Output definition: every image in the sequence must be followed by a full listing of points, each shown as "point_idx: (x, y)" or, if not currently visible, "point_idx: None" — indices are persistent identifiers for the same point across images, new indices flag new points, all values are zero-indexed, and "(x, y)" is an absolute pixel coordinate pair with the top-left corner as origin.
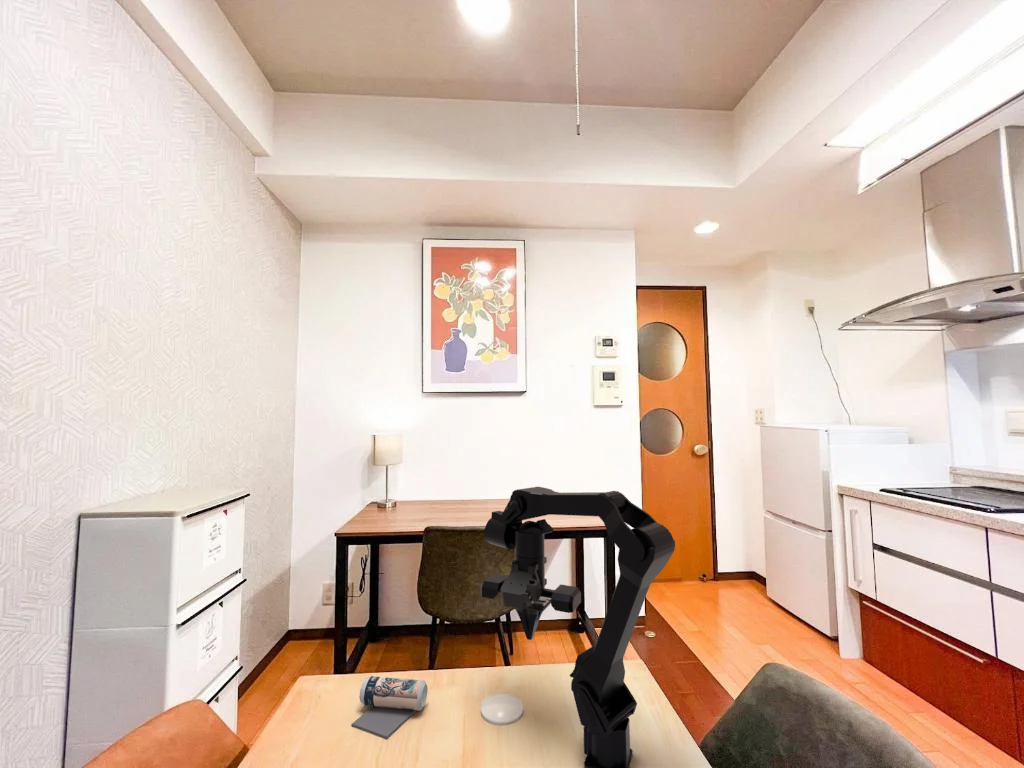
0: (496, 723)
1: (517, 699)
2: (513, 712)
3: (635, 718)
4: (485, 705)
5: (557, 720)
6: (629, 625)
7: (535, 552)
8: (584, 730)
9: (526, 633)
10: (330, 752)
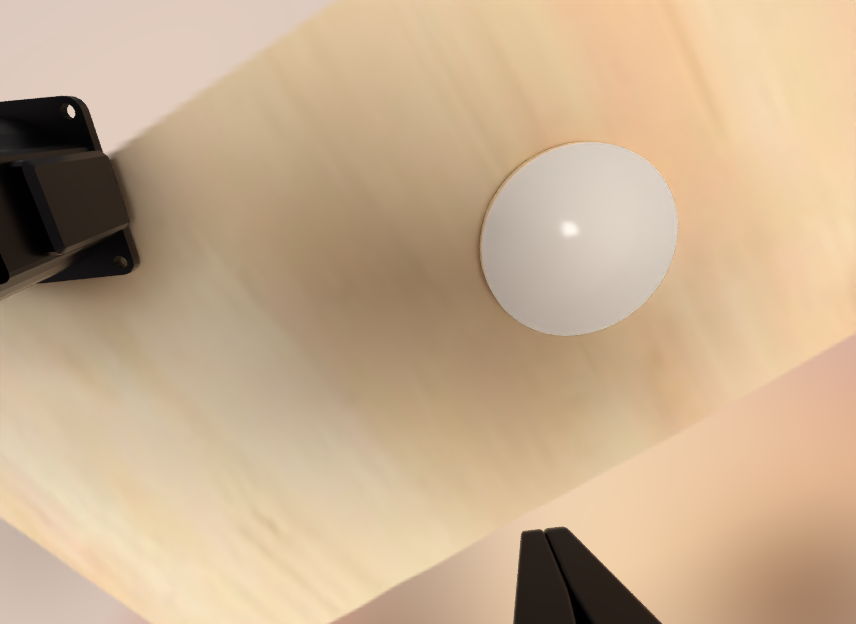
0: (556, 146)
1: (536, 321)
2: (512, 235)
3: (92, 459)
4: (653, 212)
5: (335, 306)
6: None
7: None
8: (30, 160)
9: (587, 570)
10: None
